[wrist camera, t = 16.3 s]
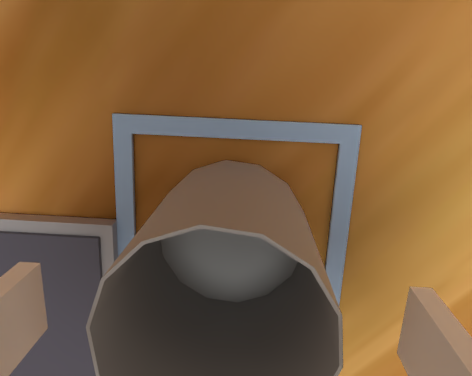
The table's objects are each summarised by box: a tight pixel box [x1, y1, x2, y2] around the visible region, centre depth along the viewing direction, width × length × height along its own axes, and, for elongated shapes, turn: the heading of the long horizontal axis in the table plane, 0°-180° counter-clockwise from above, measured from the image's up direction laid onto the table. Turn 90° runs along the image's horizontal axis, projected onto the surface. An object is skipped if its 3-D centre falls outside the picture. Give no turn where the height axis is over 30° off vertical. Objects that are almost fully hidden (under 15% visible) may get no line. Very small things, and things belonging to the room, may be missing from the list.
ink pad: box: [0, 213, 118, 376], centre depth 24 cm, size 13×13×1 cm
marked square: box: [112, 113, 362, 305], centre depth 22 cm, size 13×13×1 cm
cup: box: [86, 160, 343, 376], centre depth 17 cm, size 8×8×10 cm
